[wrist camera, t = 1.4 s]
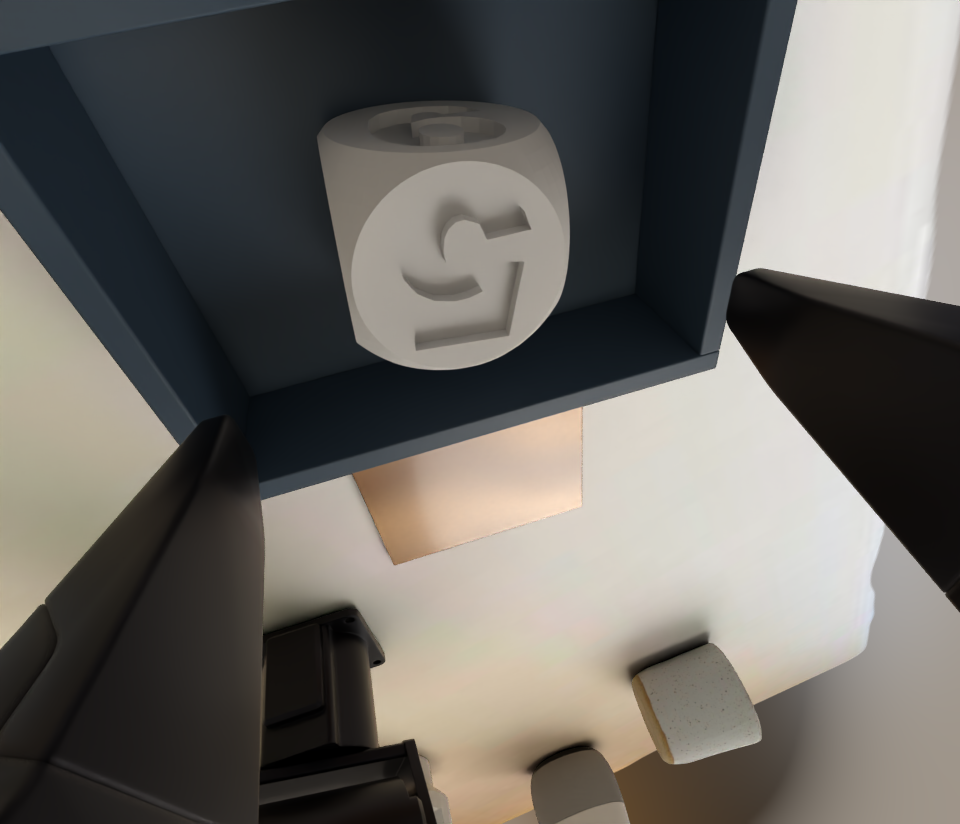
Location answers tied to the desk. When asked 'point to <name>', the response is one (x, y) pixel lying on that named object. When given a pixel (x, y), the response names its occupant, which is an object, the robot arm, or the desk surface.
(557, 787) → the smart speaker
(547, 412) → the bin
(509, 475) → the coaster
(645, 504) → the desk surface
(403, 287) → the die
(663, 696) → the ceramic mug
